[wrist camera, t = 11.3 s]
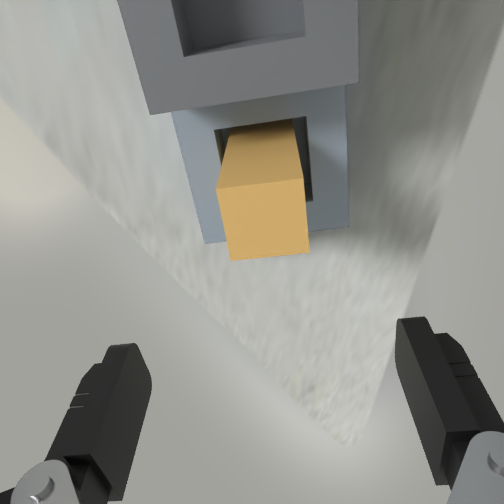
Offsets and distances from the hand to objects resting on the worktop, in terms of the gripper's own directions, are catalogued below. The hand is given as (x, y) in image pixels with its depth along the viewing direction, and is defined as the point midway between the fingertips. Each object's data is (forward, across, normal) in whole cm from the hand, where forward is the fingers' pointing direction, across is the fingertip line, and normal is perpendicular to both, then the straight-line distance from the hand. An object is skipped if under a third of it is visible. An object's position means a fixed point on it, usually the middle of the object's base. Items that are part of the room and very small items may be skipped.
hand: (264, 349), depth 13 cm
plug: (+18, 0, 0) cm, 18 cm away
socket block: (+19, 0, -5) cm, 20 cm away
